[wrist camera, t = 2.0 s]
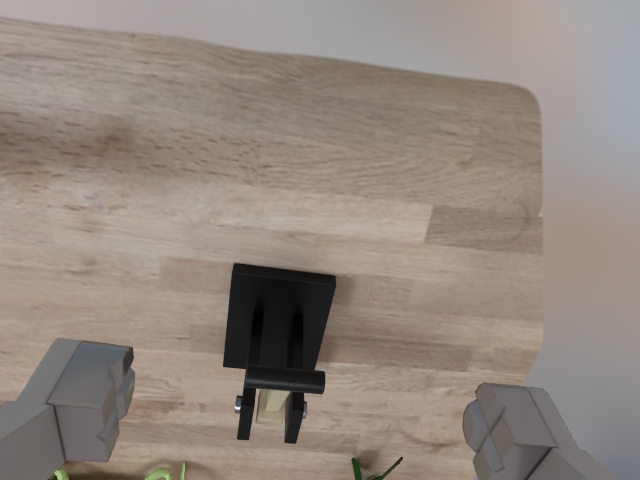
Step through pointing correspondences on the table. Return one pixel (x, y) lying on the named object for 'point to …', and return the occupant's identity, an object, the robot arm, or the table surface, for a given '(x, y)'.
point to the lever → (280, 388)
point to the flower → (358, 476)
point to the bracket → (275, 331)
